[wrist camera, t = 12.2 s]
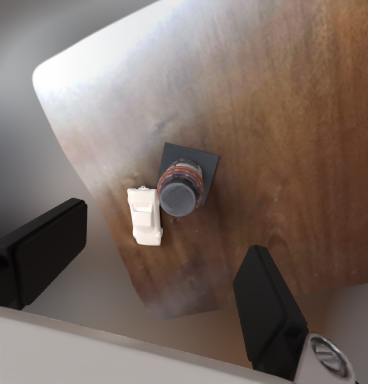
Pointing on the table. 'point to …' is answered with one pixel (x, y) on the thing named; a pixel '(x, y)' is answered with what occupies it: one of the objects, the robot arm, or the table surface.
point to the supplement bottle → (181, 187)
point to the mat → (201, 158)
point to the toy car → (145, 215)
